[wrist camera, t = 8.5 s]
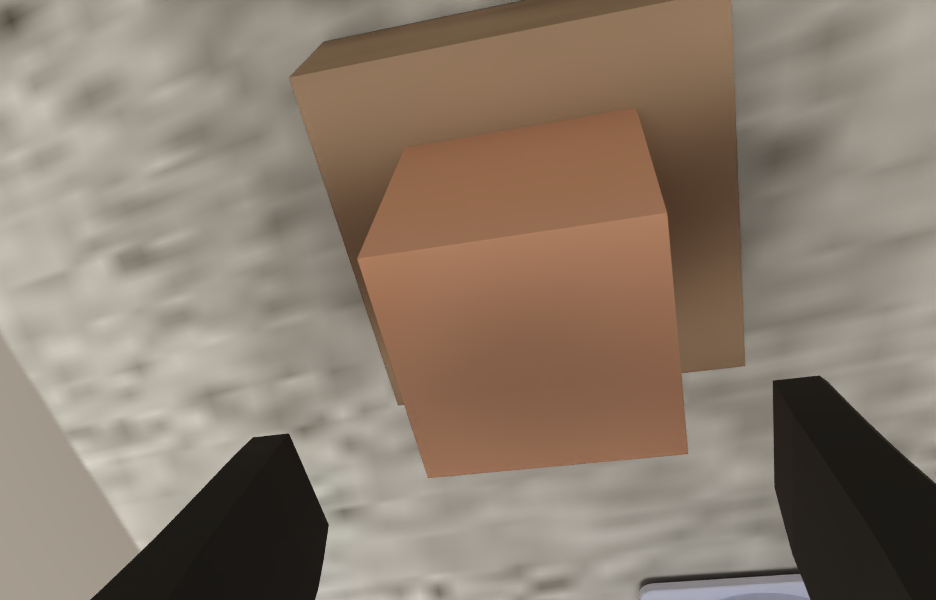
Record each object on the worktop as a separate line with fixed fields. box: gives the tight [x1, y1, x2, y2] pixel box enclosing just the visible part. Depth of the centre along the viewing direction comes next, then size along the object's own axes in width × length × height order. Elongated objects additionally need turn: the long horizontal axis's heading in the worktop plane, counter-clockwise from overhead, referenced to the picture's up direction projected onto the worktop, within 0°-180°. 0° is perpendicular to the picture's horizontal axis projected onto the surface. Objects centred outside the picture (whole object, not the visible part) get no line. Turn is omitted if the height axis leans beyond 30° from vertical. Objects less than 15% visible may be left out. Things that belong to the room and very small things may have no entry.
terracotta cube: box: [357, 108, 688, 478], centre depth 16 cm, size 5×5×5 cm
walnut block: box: [289, 0, 745, 405], centre depth 19 cm, size 9×9×3 cm
